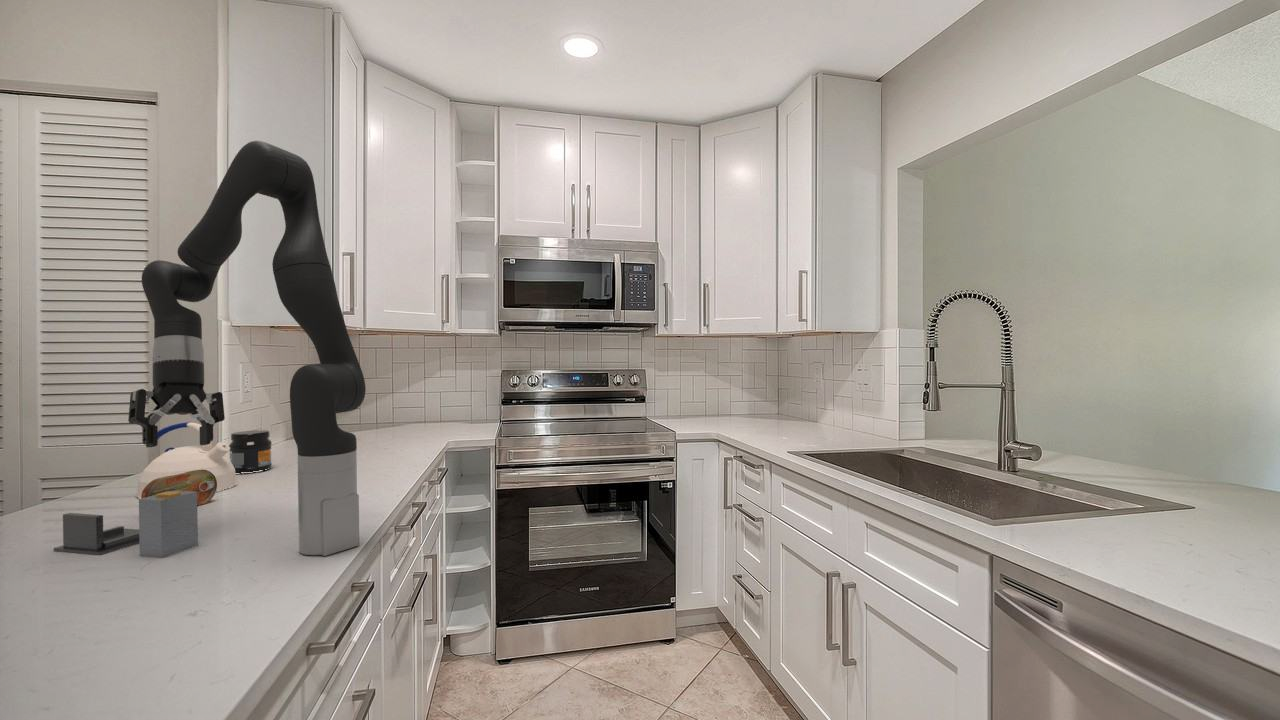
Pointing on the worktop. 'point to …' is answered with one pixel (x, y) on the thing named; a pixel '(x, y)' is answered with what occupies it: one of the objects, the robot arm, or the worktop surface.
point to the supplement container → (250, 451)
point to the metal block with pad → (168, 523)
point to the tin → (185, 485)
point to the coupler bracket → (93, 535)
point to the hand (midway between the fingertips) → (179, 445)
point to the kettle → (190, 461)
